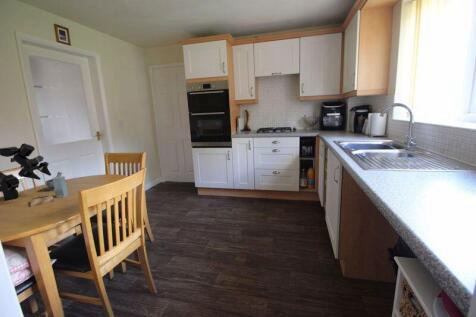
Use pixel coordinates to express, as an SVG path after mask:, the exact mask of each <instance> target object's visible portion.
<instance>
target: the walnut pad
mask: <svg viewBox="0 0 476 317" xmlns="http://www.w3.org/2000/svg"><path fill="white" fill-rule="evenodd" d="M53 202H55V199H54V197H53V195H49V196H44V197H40V198H35V199H30V200H29V203H30V207H34V206H35V207H36V206H41V205H44V204H48V203H53Z"/></svg>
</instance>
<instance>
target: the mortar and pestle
mask: <svg viewBox="0 0 476 317" xmlns="http://www.w3.org/2000/svg"><path fill="white" fill-rule="evenodd" d="M62 175H63V172H61V171H58V172H57V174H56V176H55V177H62ZM44 183H45V185H46V186H47V187H48V188H49V190H50V191H51V192H52V191H53V192H55V189H54V184H53V179H52V178H51V179H48V180H45V181H44Z"/></svg>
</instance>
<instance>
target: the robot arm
mask: <svg viewBox="0 0 476 317" xmlns="http://www.w3.org/2000/svg"><path fill="white" fill-rule="evenodd" d="M34 151H35V147H34V146H33V145H30V144H27V143H22V144H21V145H20V146H19V147H17V146H7V147H0V156H1V157H6V158H9V157H10V163H15V162H16V163H17V164H19V165H20V166H19V167H20V168H21V169H20V170H19V172H17V174H18V177H20V178H28V179H32V180H33V179H34V180H38V181H40V180H41V177H39V175H38V174H36V172H34V171H37V170H38V171H39V172H40V173H42V174H44V175H47V176H49V177H52V173H51V172H50V170H49V169H48V168H49V164H50V163H49V162H47V161H44V157H43V155H37V156H35V157H33V158H29V157H30V156H31V155H32V153H34ZM18 177H17V176H15V175H13V173H11V174H8V175H7V174H5V173H3V172H2V171H0V193H2V196H3V201H10V200H14V199H19V196H20V194H19V190H18V189H17V188H19V185H20V179H19V178H18Z"/></svg>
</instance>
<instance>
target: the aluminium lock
mask: <svg viewBox="0 0 476 317" xmlns="http://www.w3.org/2000/svg"><path fill="white" fill-rule="evenodd" d="M65 178H66V177H65V176H63V175H62V176H61V177H56V176H55V177H53V178H51V179H53V184H54V189H55V190H54V194H55V197H56V198H64V197H66V196H69V194H68V193H69V192H68V187H67V183H66V179H65Z"/></svg>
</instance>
